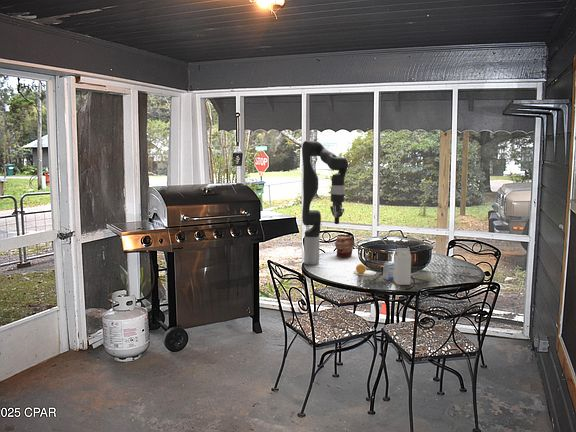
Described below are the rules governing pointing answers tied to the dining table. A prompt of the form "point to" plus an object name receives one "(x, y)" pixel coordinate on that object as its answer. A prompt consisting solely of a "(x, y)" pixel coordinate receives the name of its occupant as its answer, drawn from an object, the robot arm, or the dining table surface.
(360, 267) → the ball
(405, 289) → the dining table surface
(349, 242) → the decorative planter
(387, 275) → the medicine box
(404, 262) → the milk carton
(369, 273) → the disc
